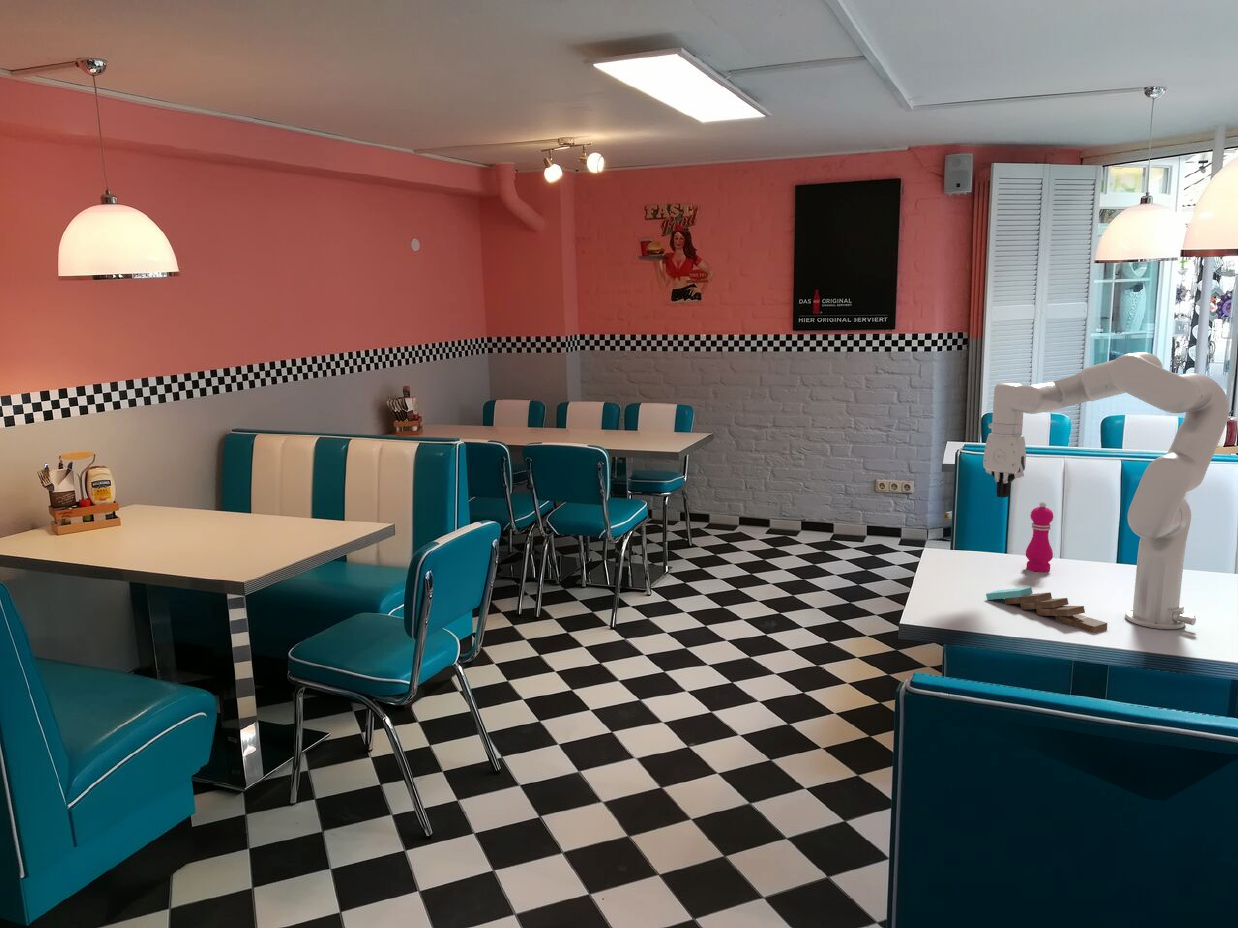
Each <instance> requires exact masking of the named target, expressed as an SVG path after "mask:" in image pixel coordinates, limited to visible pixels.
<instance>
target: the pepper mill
mask: <svg viewBox="0 0 1238 928" xmlns="http://www.w3.org/2000/svg"><path fill="white" fill-rule="evenodd" d="M1038 504H1039V506H1038V507H1037V506H1036V507H1034V508H1033V509H1032V510H1031V512H1030V514H1029V515H1030V519H1031V521H1032V523H1031V528H1032V537H1031V540H1030V542H1029V544H1028V545H1027V547H1026V550H1025V557H1026V559H1027V562H1026V569H1027V570H1028V571H1030V572H1031V571H1032V572H1039V573H1047V572H1050V571H1051V563H1050V562H1051V561H1052V559H1053V557H1054V552H1053V549H1052V546H1051V543H1050V540H1049V532H1050V530H1051V526H1052V524H1051V523H1052V521H1054V512H1053V511H1052V510H1051V509H1050V508H1049V507H1046V506H1047V503H1046V502H1045V501H1040V502H1039V503H1038Z"/></svg>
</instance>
